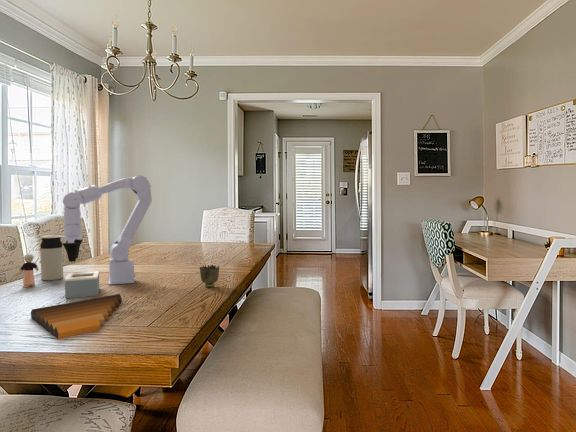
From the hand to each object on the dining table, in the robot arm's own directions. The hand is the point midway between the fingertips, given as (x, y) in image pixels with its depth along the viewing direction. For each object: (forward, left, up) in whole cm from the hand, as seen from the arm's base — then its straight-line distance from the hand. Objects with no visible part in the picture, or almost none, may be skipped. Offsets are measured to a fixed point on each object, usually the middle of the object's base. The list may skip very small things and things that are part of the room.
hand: (73, 259), depth 155 cm
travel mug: (+10, -20, -11) cm, 25 cm away
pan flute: (-9, +45, -11) cm, 47 cm away
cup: (-48, +20, -11) cm, 53 cm away
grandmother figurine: (+16, -8, -11) cm, 21 cm away
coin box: (-4, +12, -10) cm, 16 cm away
